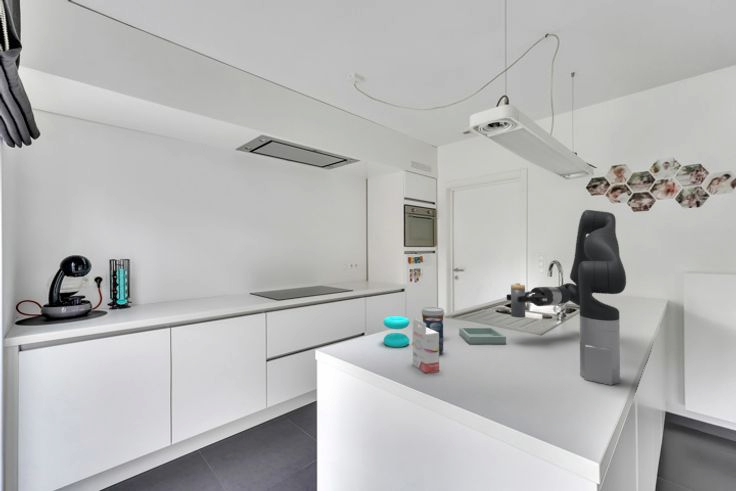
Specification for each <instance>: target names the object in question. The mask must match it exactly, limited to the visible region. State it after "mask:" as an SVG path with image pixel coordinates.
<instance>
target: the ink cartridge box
mask: <svg viewBox="0 0 736 491" xmlns="http://www.w3.org/2000/svg"><path fill="white" fill-rule="evenodd" d="M419 325H420V326H419ZM412 364H413V365H414V366H415V367H416V368H418V369H419V370H420V371H422V372H424V373H425V374H431V373H436V372H439V371H440V355H439V332H436V331H434V330H431V329H429V328H427V327H426V323H423V321H421V320H419V319H416V318H413V321H412Z"/></svg>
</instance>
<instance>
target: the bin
mask: <svg viewBox="0 0 736 491" xmlns="http://www.w3.org/2000/svg"><path fill="white" fill-rule="evenodd" d="M458 329H459V332H458V334H459V336H460V337H461V338H462V339H463V340H464V341H465V342H466V343H467V344H468V345H470V346H473V345H474V346H475V345H476V346H480V345H481V346H482V345H483V346H484V345H486V346H487V345H488V346H489V345H490V346H493V345H495V346H496V345H497V346H498V345H499V346H500V345H503V346H504V345H507V336H506V335H504V334H503V333H501V332H499V331H498V330H496V329H495V328H493V327H459V328H458Z"/></svg>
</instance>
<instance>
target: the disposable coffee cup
mask: <svg viewBox="0 0 736 491" xmlns="http://www.w3.org/2000/svg"><path fill="white" fill-rule="evenodd" d="M420 313H421V316H422V322H423V323H424V321H425V318H428V317H436V318H440V319H441V321H442V323H443V324H444V315H445V313H446V312H445V311H444V309H443V308H442V307H437V306H435V307H434V306H430V307H429V306H427V307H422V309H421V311H420Z"/></svg>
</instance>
